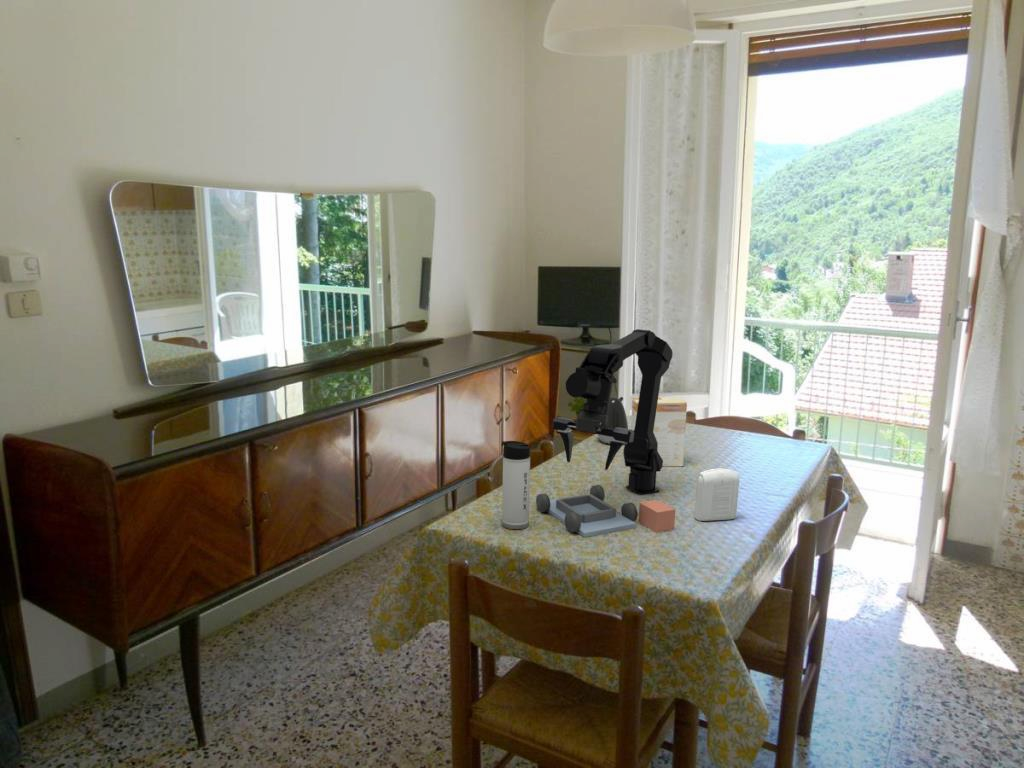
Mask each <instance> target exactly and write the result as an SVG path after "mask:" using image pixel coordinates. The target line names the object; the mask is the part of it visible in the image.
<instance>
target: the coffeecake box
mask: <svg viewBox="0 0 1024 768" xmlns="http://www.w3.org/2000/svg"><path fill="white" fill-rule="evenodd" d="M638 401H639V397H632V400H631V416H630V417H631V422H630V429H631V430H633V431H634V429H635V422H636V415H637V408H638ZM687 403H688V402H687V401H686V400H684V398H682V397H658V402H657V409H656V416H655V423H654V430H653V433H654V435H655V438H656V440H657V442H658V448H657V451H658V453H659V455H660V456H661V458H662V460H663V464H662V467H682V466H683V467H684V463H685V460H684V459H685V444H686V427H687V425H686V424H687V408H688V404H687Z"/></svg>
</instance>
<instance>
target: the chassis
mask: <svg viewBox="0 0 1024 768" xmlns="http://www.w3.org/2000/svg"><path fill="white" fill-rule="evenodd" d="M605 496H606V495H605V490H604V488H603V486H602V485H601V484H597V485H591V487H590V488H589V494H587V493H585V494H578V495H572V496H566V497H561V498H560V497H559V498H554V499H550V496H549V495H548V494H547V493H539V494H537V495H536V498H535V506H536V507H537V510H538V512H540V513H545V512H546V513H548V514H549V515H551V516H552V517H554V518H555V519H557V520H558V521H560V522H561V523H563V524H564V525H565V528H566V530H567V532H569V533H578V534H579V535H581V536H582V537H583V538H588V537H592V536H593V537H594V536H599V535H604V534H609V533H615V532H619V531H624V530H630V529H634V528H637V523H636V520H637V519H638V517H639V511H638V508H637V506H636V505H635V504H634V503H633V502H625V503H623V504H622V505H621V508H620V513H619V512H617V508H615V507H614V506H613V505H611V504H609V503H607V502H606V501H605V498H606V497H605Z"/></svg>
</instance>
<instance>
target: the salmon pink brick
mask: <svg viewBox="0 0 1024 768" xmlns="http://www.w3.org/2000/svg"><path fill="white" fill-rule="evenodd" d="M675 519H676V509H675V508H674V507H671V506H669V505H668V504H666V503H664V502H662V501H660V500H659V499H654V500H653V499H652V500H647V501H642V502H641V501H640V502H639V508H638V523H639V524H640V525H642V526H644V527H646V528H648V530H649V529H650V530H651V531H653V532H654V533H656V534H658V533H661V532H662V531H663V532H667V531H673V530H675V523H676V522H675V521H676V520H675Z"/></svg>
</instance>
